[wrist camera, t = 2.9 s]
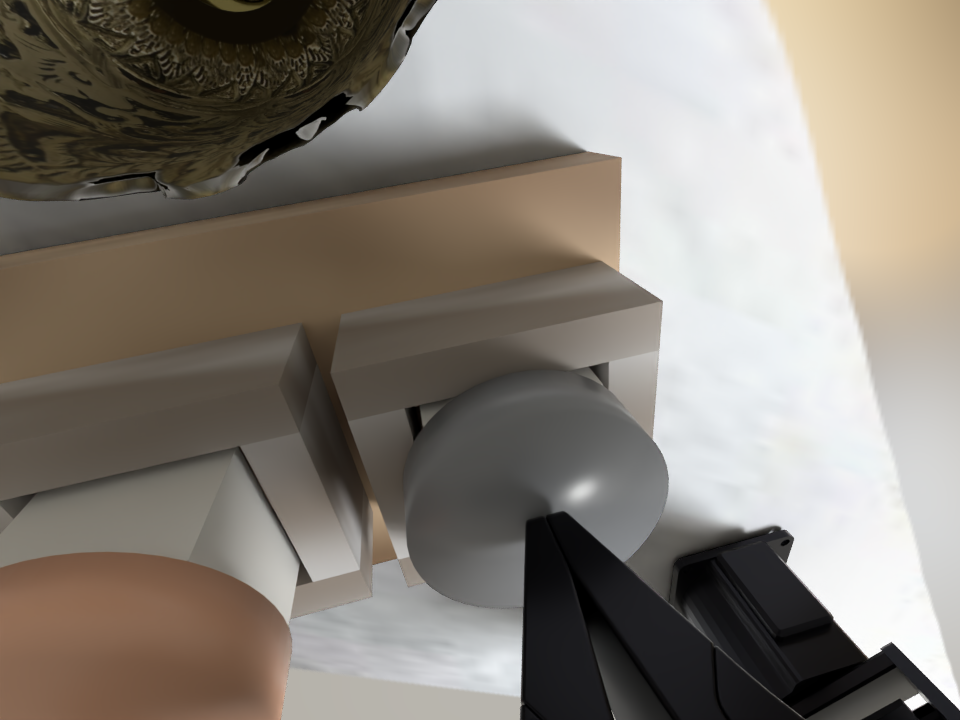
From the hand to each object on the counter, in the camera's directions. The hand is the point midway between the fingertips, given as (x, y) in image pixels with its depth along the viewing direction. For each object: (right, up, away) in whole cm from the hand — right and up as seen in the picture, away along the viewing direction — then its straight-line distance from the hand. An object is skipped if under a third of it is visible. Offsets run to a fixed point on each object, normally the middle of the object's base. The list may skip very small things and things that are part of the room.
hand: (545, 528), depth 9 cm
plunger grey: (-1, +2, +4) cm, 5 cm away
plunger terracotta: (-8, -1, +1) cm, 8 cm away
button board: (-5, +2, +6) cm, 8 cm away
